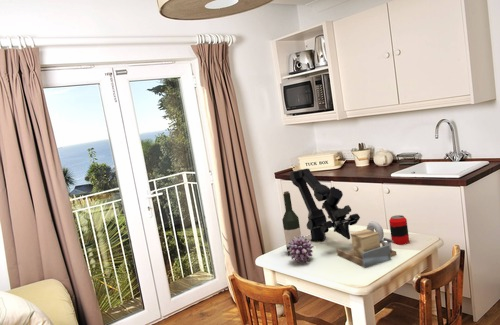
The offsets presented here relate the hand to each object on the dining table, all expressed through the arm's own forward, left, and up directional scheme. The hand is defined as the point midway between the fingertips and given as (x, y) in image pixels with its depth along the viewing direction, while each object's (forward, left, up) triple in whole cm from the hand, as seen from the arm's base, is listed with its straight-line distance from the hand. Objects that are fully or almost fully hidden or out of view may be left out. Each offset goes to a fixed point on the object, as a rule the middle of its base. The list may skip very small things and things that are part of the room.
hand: (349, 238), depth 190 cm
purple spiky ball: (-19, -11, -7) cm, 23 cm away
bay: (+7, -6, -7) cm, 11 cm away
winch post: (+16, -2, -7) cm, 18 cm away
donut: (+8, +16, -7) cm, 19 cm away
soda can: (+19, +16, -7) cm, 25 cm away
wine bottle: (-27, 0, -7) cm, 28 cm away
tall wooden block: (+9, -8, -6) cm, 14 cm away
